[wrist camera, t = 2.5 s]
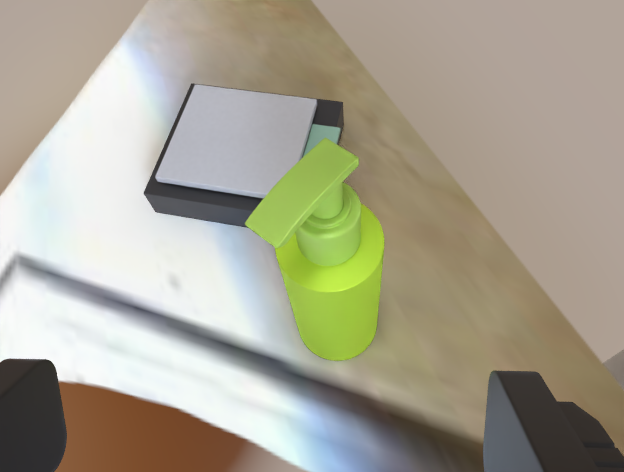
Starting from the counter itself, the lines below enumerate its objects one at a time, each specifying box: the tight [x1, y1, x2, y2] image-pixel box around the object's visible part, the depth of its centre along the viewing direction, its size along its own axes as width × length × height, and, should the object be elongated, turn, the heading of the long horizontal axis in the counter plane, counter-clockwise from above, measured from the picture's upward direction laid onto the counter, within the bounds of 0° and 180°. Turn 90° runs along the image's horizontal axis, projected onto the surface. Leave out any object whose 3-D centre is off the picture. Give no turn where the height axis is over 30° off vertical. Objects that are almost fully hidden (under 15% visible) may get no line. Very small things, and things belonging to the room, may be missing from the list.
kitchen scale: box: [144, 84, 344, 227], centre depth 46 cm, size 14×12×4 cm
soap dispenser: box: [245, 138, 384, 361], centre depth 32 cm, size 6×7×20 cm
